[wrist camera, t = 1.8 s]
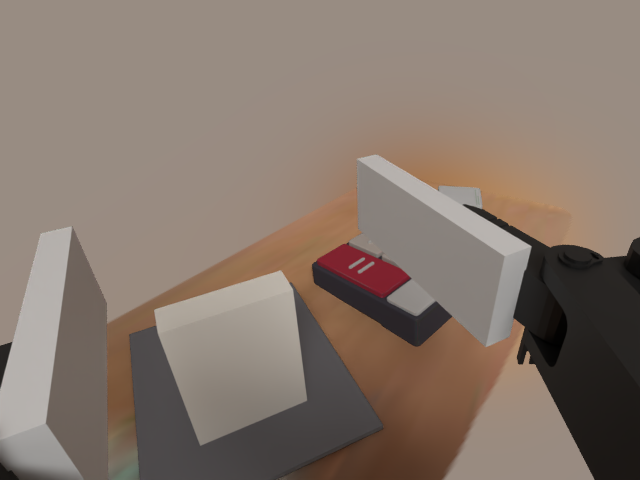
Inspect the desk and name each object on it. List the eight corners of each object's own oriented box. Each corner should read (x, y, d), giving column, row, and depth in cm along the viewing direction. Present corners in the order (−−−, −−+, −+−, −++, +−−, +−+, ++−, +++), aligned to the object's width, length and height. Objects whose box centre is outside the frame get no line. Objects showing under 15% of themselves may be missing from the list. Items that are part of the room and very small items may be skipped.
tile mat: (146, 540, 27) (144, 537, 27) (130, 337, 44) (129, 334, 43) (383, 428, 33) (383, 424, 33) (291, 285, 49) (291, 282, 49)
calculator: (372, 222, 54) (481, 262, 44) (374, 250, 56) (477, 295, 46) (309, 258, 48) (418, 315, 38) (313, 288, 50) (417, 350, 40)
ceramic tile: (200, 445, 32) (157, 333, 26) (194, 417, 34) (153, 307, 28) (307, 400, 35) (292, 289, 29) (295, 377, 37) (280, 268, 31)
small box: (477, 238, 55) (483, 205, 53) (433, 235, 57) (436, 203, 54) (475, 217, 60) (480, 186, 57) (434, 215, 61) (437, 184, 59)
